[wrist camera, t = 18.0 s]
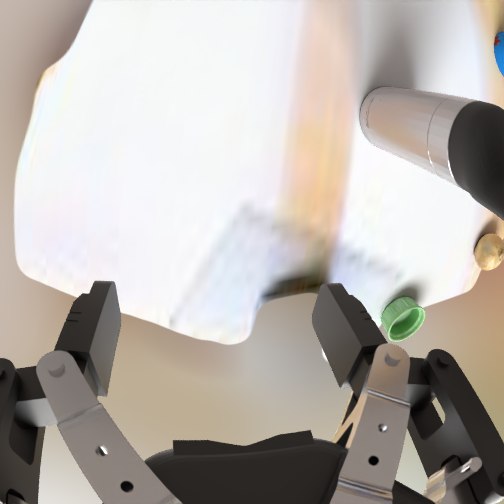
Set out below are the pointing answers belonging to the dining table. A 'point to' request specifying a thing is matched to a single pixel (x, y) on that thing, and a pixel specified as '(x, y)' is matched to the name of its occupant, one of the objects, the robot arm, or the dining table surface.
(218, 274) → the dining table surface
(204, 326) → the dining table surface
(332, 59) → the dining table surface
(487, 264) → the onion
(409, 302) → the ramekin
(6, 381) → the robot arm
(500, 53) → the thermos
